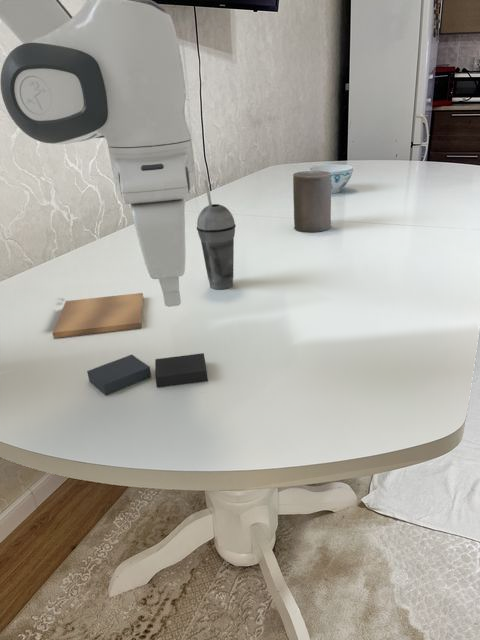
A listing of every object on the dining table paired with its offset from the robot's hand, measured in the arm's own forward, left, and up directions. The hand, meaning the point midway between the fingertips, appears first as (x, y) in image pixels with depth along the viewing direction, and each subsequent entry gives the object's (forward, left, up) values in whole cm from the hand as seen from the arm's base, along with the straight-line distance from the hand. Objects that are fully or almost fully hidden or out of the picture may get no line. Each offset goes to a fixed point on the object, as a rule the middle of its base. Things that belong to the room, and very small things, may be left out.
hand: (172, 289), depth 64 cm
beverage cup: (+9, +36, -14) cm, 39 cm away
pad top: (-8, +1, -13) cm, 16 cm away
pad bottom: (0, 0, -13) cm, 13 cm away
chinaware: (+55, +116, -14) cm, 129 cm away
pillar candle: (+37, +72, -14) cm, 82 cm away
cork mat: (-13, +27, -13) cm, 33 cm away
